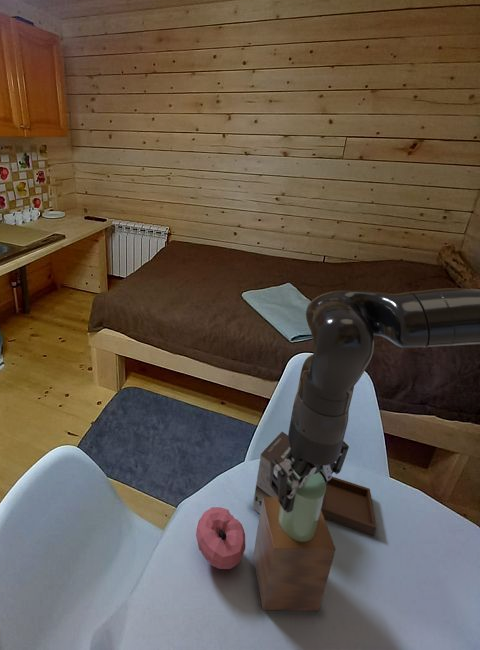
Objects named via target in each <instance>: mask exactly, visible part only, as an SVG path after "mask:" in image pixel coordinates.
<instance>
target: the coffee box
mask: <svg viewBox="0 0 480 650" xmlns="http://www.w3.org/2000/svg"><path fill="white" fill-rule="evenodd" d="M289 451H290V443H289V438H288V434H287V433H285V432H283V431H281V432H279V434H278V435H277V436H276V437H275V438H274V439H273V440H272V441H271V442H270V443H269V445H267V447H266V448H265V449H264V450H263V451H262V452H261V453H260V458H259V465H258V471H257V476H256V484H255V490H254V497H253V502H252V509H253V510H255V512H256V513H258V514H259V515H260V510H261V503H262V497H278V496H277V495H276V493H275V492H274V491H273V489H272V488H271V486H270V465H271V462H272V461H273V460H274V459H276V460H277V461H278V462H279V463H281V462H283V461H285V460H287V459H286V458H287V455H288V453H289Z"/></svg>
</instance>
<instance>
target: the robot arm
mask: <svg viewBox="0 0 480 650" xmlns="http://www.w3.org/2000/svg"><path fill="white" fill-rule="evenodd" d="M305 319H306V322H307V323H306V324H307V326H308V328H309V331H310V334H311V337H312V341H313V353H312V354H311V355H309V356H307V357H306V359H305V360H304V362H303V364H302V367H301V371H300V376H299V381H298V387H297V391H296V394H295V397H294V399H293V400H294V401H293V406H292V410H291V416H290V422H289V427H288V432H287V433H288V434H287V435H288V438H289V443H290V451H289V453H288V455H287V458H286V459H287V460H285V461H283V462H281V463H279V462H278V461H277V460H276V459H274V460H273V461H272V462H271V465H270V486H271V488H272V489H273V491H274V492H275V493H276V495H277V496H278V502H279V503H280V505H281V506H282V508H283V509H284V510H285V511H286V512H287V513H289V512H291V511H292V507H293V502H294V497H295V496H294V495H295V494H296V492H297V490H298V489H299V488H303V487H304V486H305V484H306V482H307V481H308V479H309V478H310V476H311V475H313V474H317V473H320V474H321V475H322V477H323V478H324V480H325V483H326V487H327V483H328V481H329V480H330V479H331V478H332V477H333V474H335V475H338V474H340V473H341V471H342V469H343V466H344V463H345V459H346V457H347V454H348V451H349V449H350V446H349V445H348V444H347V443H346V442H345V441H344V439H345V435H346V430H347V427H348V423H349V415H350V414H349V413H350V412H349V411H350V407H351V402H352V399H353V398H352V397H353V394H354V389H355V386H356V384H357V383H358V382H359V380H360V379H361V377H362V376H363V375H364V373H365V371H366V369H367V368H368V366H369V364H370V363H371V361H372V358H373V355H374V351H375V336H379V337H383V338H385V339H386V340H387V341H389V342H391V343H392V344H394V345H395V346H396V347H399V348H402V349H428V348H439V347H452V346H464V345H465V346H466V345H480V289H475V288H464V287H463V288H461V287H460V288H459V287H447V288H446V287H445V288H436V289H434V288H433V289H426V290H425V289H424V290H416V291H408V292H401V293H385V292H379V291H378V292H377V291H363V290H362V291H361V290H334V291H329V292H325V293H322V294H321V295H318V296H316V297H315V298H313V299H312V300H311V301H310V302H309V303H308V305H307V307H306V310H305ZM293 470H294V471H295V472H296V473H297V474H298V475H299V476H300V479H299V478H298V477H297V476H296V474H295V473H294V472H293ZM289 479H290V481H291V482H292V486H291V488H290V486H289V485H288V483H287V482H288V480H289Z"/></svg>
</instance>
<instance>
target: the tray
mask: <svg viewBox="0 0 480 650" xmlns="http://www.w3.org/2000/svg"><path fill="white" fill-rule="evenodd" d="M321 511H322V514H323V516H324V519H325V520H328V521H331V522H334V523H337V524H339V525H341V526H344V527H347V528H351V529H353V530H355V531H358V532H361V533H364V534H366V535H370V536H372V537H374V536H375V534H376V531H377V523H376V517H375V511H374V505H373V500H372V493H371V488H369V487H366V486H363V485H360V484H358V483H357V484H356V483H354V482H351V481H348V480H345V479H341V478H339V477H335V476H332V478H331V479H330V480H329V481H328V483H327V487H326V492H325V496H324V500H323V504H322V508H321Z"/></svg>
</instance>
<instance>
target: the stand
mask: <svg viewBox="0 0 480 650" xmlns="http://www.w3.org/2000/svg"><path fill="white" fill-rule="evenodd" d="M279 507H280V503H279V502H278V497H262V503H261V510H260V514H259V516H258V524H257V529H256V536H255V542H254V549H253V557H252V558H253V563H254V568H255V575H256V580H257V586H258V591H259V597H260V604H261V608H262V611H296V612H297V611H302V612H319V611H320V607H321V603H322V600H323V597H324V593H325V589H326V586H327V582H328V579H329V575H330V571H331V568H332V565H333V561H334V557H335V553H336V550H337V548H336V546H335V543H334V541H333V538H332V536H331V532H330V530H329V527H328V525H327V522H326V519H325V518H324V516H323V514H322V511H321V513H320V517H319V521H318V525H317V529H316V533H315V536H314V537H313V538H312V539H311V540H310V541H307V542H300V541H296V540H294V539H292V538H291V537H290V536H288V535H287V534H286V533H285V532H284V530H283V529H282V527H281V525H280V522H279V518H278V513H279Z"/></svg>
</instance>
